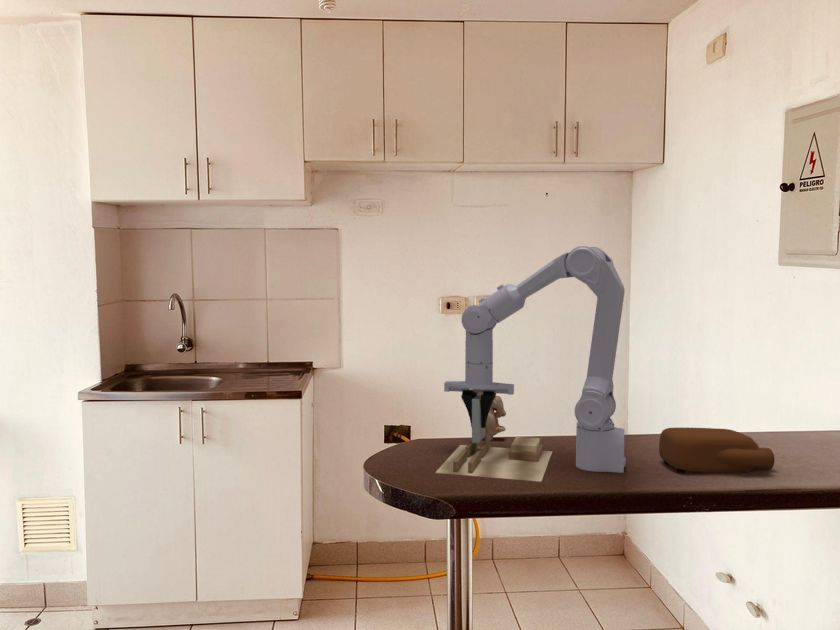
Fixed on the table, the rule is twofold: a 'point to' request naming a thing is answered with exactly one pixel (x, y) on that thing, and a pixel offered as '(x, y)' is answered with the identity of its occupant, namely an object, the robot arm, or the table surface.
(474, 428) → the grey blue slab
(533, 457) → the plate
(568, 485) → the table surface
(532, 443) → the offcut top
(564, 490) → the table surface
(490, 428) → the figurine
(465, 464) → the rack
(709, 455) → the toy
